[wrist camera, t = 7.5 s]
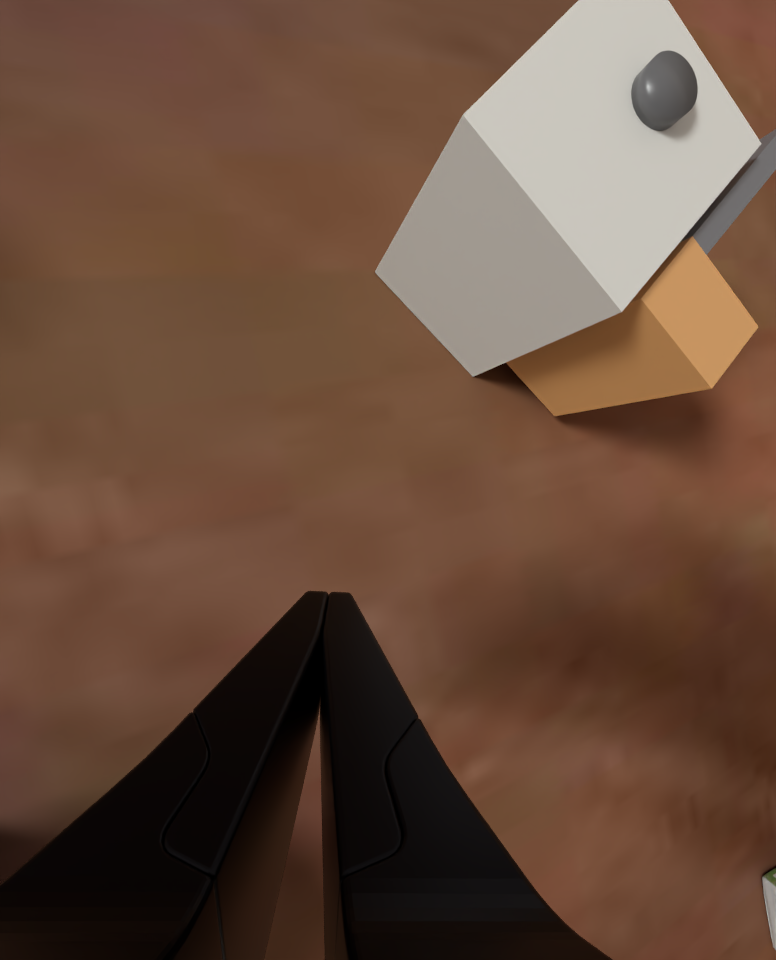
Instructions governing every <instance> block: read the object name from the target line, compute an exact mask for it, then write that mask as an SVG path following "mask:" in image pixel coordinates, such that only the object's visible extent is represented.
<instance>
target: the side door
mask: <svg viewBox="0 0 776 960" xmlns="http://www.w3.org/2000/svg"><path fill="white" fill-rule="evenodd" d="M759 141H760V142H761V145H760V146H759V147H758V149H757V150H756V151H755V152H754V153H753V155H752V156H751V157H750V158H749V159H748V161H747V162H746V163H745V164H744V165H743V167H742V168H741V169H740V170H739V171H738V173H737V174H736V175H735V176H734V177H733V179H732V180H731V181H730V182H729V184H728V185H727V186H726V187H725V188H724V190H723V191H722V192H721V193H720V194H719V196H718V197H717V198H716V199H715V200H714V202H713V203H712V204H711V205H710V206H709V208H708V209H707V210H706V211H705V212H704V214H703V215H702V216H701V217H700V218H699V220H698V221H697V222H696V223H695V224H694V226H693V227H692V228H691V229H690V231H689V232H688V233H687V234H686V235H685V237H684V238H683V239H682V240H681V241H680V243H679V244H678V245H677V246H676V247H675V249H674V250H673V251H672V252H671V253H670V255H669V256H668V257H667V258H666V259H665V261H664V262H663V263H662V264H661V265H660V267H659V268H658V269H657V270H656V271H655V273H654V274H653V275H652V276H651V278H650V279H649V280H648V281H647V282H646V284H645V285H644V286H643V287H642V288H641V290H640V291H639V292H638V293H637V294H636V296H635V297H634V298H633V299H632V300H631V302H630V303H629V304H628V305H627V306H626V308H625V309H624V310H623V311H622V312H621V313H618V314H616V315H614V316H612V317H609V318H607V319H605V320H602V321H600V322H598V323H595V324H593V325H591V326H589V327H586V328H584V329H582V330H579V331H577V332H575V333H573V334H570V335H568V336H566V337H563V338H561V339H559V340H556V341H554V342H552V343H550V344H547V345H545V346H543V347H540V348H538V349H536V350H533V351H531V352H529V353H527V354H524V355H522V356H520V357H517V358H515V359H513V360H510V361H508V362H506V364H507V365H508V366H509V367H510V368H511V369H512V370H513V371H514V372H515V373H516V375H517V376H518V377H519V378H520V379H521V380H522V381H523V382H524V383H525V384H526V386H527V387H528V388H529V389H530V390H531V391H532V392H533V393H534V394H535V395H536V397H537V398H538V399H539V400H540V401H541V402H542V403H543V404H544V405H545V406H546V408H547V409H548V410H549V411H550V412H551V413H552V414H553V415H554V416H559V415H565V414H571V413H577V412H582V411H588V410H594V409H599V408H605V407H611V406H616V405H622V404H628V403H633V402H639V401H645V400H651V399H656V398H662V397H668V396H673V395H679V394H685V393H690V392H696V391H702V390H707V389H712V388H713V386H714V385H715V384H716V382H717V381H718V380H719V379H720V377H721V376H722V375H723V373H724V372H725V371H726V369H727V368H728V367H729V365H730V364H731V363H732V361H733V360H734V359H735V357H736V356H737V355H738V353H739V352H740V351H741V349H742V348H743V347H744V345H745V344H746V343H747V341H748V340H749V339H750V337H751V336H752V335H753V333H754V332H755V331H756V330H757V328H758V325H757V324H756V323H755V321H754V320H753V318H752V317H751V316H750V314H749V313H748V312H747V310H746V309H745V307H744V306H743V305H742V303H741V302H740V300H739V299H738V298H737V296H736V295H735V294H734V292H733V291H732V289H731V288H730V287H729V285H728V284H727V283H726V281H725V280H724V278H723V277H722V276H721V274H720V273H719V272H718V270H717V269H716V267H715V266H714V265H713V263H712V262H711V261H710V259H709V258H708V256H707V254H708V252H709V251H710V250H711V249H712V247H713V246H714V245H715V244H716V242H717V241H718V240H719V239H720V237H721V236H722V235H723V234H724V233H725V231H726V230H727V229H728V228H729V226H730V225H731V224H732V223H733V221H734V220H735V219H736V218H737V216H738V215H739V214H740V213H741V212H742V210H743V209H744V208H745V207H746V205H747V204H748V203H749V202H750V200H751V199H752V198H753V197H754V196H755V194H756V193H757V192H758V191H759V189H760V188H761V187H762V186H763V184H764V183H765V182H766V181H767V179H768V178H769V177H770V176H771V175H772V173H773V172H774V171H775V170H776V129H775V130H774V131H772V132H771V133H769V134H768V135H766V136H765V137H763V138H762V139H760V140H759Z"/></svg>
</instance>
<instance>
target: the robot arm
mask: <svg viewBox="0 0 776 960" xmlns="http://www.w3.org/2000/svg"><path fill="white" fill-rule="evenodd" d="M319 708H320V753H321V801H322V849H323V897H324V945H325V960H612V959H611V958H610V957H608V956H607V955H605V954H604V953H603V952H601V951H600V950H598V949H597V948H596V947H594V946H593V945H591V944H590V943H589V942H587V941H586V940H585V939H583V938H582V937H581V936H579V935H578V934H577V933H576V932H575V931H574V930H572V929H571V928H570V927H569V926H568V925H567V924H566V923H565V922H564V921H563V920H562V919H561V918H560V917H559V916H558V915H557V914H556V913H555V912H554V911H553V910H552V909H551V908H550V907H549V905H548V904H547V903H546V902H545V901H544V900H543V898H542V897H541V896H540V895H539V894H538V892H537V891H536V890H535V888H534V887H533V886H532V884H531V883H530V882H529V880H528V879H527V878H526V876H525V875H524V873H523V872H522V871H521V869H520V868H519V866H518V865H517V864H516V862H515V861H514V860H513V858H512V857H511V855H510V854H509V853H508V851H507V850H506V848H505V847H504V846H503V844H502V843H501V841H500V840H499V839H498V837H497V836H496V835H495V833H494V832H493V830H492V829H491V828H490V826H489V825H488V823H487V822H486V821H485V819H484V818H483V817H482V815H481V814H480V812H479V811H478V810H477V808H476V807H475V805H474V804H473V803H472V801H471V800H470V798H469V797H468V796H467V794H466V793H465V791H464V790H463V788H462V787H461V785H460V784H459V782H458V781H457V780H456V778H455V777H454V775H453V774H452V772H451V771H450V769H449V768H448V766H447V765H446V763H445V761H444V760H443V758H442V756H441V755H440V753H439V751H438V750H437V748H436V746H435V745H434V743H433V741H432V740H431V738H430V736H429V734H428V732H427V731H426V729H425V727H424V725H423V723H422V721H421V720H420V719H418V715H417V713H416V711H415V709H414V707H413V705H412V704H411V702H410V700H409V698H408V696H407V695H406V693H405V691H404V689H403V687H402V685H401V684H400V682H399V680H398V678H397V676H396V675H395V673H394V671H393V669H392V667H391V665H390V664H389V662H388V660H387V658H386V656H385V655H384V653H383V651H382V649H381V647H380V645H379V644H378V642H377V640H376V638H375V636H374V635H373V633H372V631H371V629H370V627H369V625H368V624H367V622H366V620H365V618H364V616H363V615H362V613H361V611H360V609H359V607H358V605H357V604H356V602H355V600H354V598H353V596H352V595H351V594H350V593H346V592H331V593H330V594H329V595H328V593H327V592H323V591H308V592H306V593H305V594H304V595H303V596H302V597H301V598H300V599H299V600H298V601H297V602H296V603H295V604H294V605H293V606H292V607H291V608H290V609H289V611H288V612H287V613H286V614H285V615H284V616H283V617H282V618H281V619H280V620H279V621H278V622H277V623H276V624H275V625H274V626H273V627H272V628H271V629H270V630H269V631H268V632H267V633H266V634H265V635H264V637H263V638H262V639H261V640H260V641H259V642H258V643H257V644H256V645H255V646H254V647H253V648H252V649H251V650H250V651H249V652H248V653H247V654H246V655H245V656H244V657H243V658H242V659H241V660H240V662H239V663H238V664H237V665H236V666H235V667H234V668H233V669H232V670H231V671H230V672H229V673H228V674H227V675H226V676H225V677H224V678H223V679H222V680H221V681H220V682H219V683H218V684H217V685H216V687H215V688H214V689H213V690H212V691H211V692H210V693H209V694H208V695H207V696H206V697H205V698H204V699H203V700H202V701H201V702H200V703H199V704H198V705H197V706H196V707H195V708H194V710H193V713H192V712H191V713H189V714H188V715H187V716H186V717H185V718H184V720H183V721H182V722H181V723H180V724H179V725H178V726H177V727H176V728H175V729H174V730H173V731H172V732H171V733H170V734H169V735H168V736H167V737H166V738H165V739H164V740H163V741H162V742H161V743H160V744H159V745H158V746H157V747H156V748H155V749H154V750H153V751H152V752H151V753H150V754H149V755H148V756H147V757H146V758H145V759H143V760H142V761H141V762H140V763H139V764H138V765H137V766H136V767H135V768H134V769H132V770H131V771H130V772H129V773H128V774H127V775H126V776H125V777H124V778H122V779H121V780H120V781H119V782H118V783H117V784H116V785H115V786H114V787H113V788H111V789H110V790H109V791H108V792H107V793H106V794H105V795H103V796H102V797H101V798H100V799H99V800H98V801H97V802H95V803H94V804H93V805H92V806H91V807H90V808H88V809H87V810H86V811H85V812H84V813H83V814H82V815H80V816H79V817H78V818H77V819H76V820H75V821H73V822H72V823H71V824H70V825H69V826H68V827H67V828H65V829H64V830H63V831H62V832H61V833H60V834H58V835H57V836H56V837H55V838H54V839H53V840H52V841H50V842H49V843H48V844H47V845H46V846H45V847H43V848H42V849H41V850H40V851H39V852H38V853H37V854H35V855H34V856H33V857H32V858H31V859H30V860H28V861H27V862H26V863H25V864H24V865H23V866H22V867H20V868H19V869H18V870H17V871H16V872H15V873H14V874H12V875H11V876H10V877H9V878H8V879H6V880H5V881H4V882H3V883H1V884H0V960H264V956H265V952H266V947H267V943H268V938H269V934H270V930H271V925H272V921H273V916H274V912H275V907H276V903H277V899H278V894H279V890H280V885H281V881H282V876H283V872H284V867H285V863H286V859H287V854H288V850H289V845H290V841H291V836H292V832H293V827H294V823H295V819H296V814H297V810H298V805H299V801H300V796H301V792H302V788H303V783H304V779H305V774H306V770H307V765H308V761H309V756H310V752H311V748H312V743H313V739H314V734H315V730H316V725H317V720H318V715H319Z"/></svg>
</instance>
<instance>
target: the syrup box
mask: <svg viewBox="0 0 776 960" xmlns="http://www.w3.org/2000/svg"><path fill="white" fill-rule="evenodd" d="M762 881H763V890H764V898H765V904H766V911H767V916H768V922H769V927H770V933H771V938H772V943H773V947H774V948H775V950H776V868H775V869H773V870H772V871H770V872H768V873H767V874H765V875H764V876H763V878H762Z"/></svg>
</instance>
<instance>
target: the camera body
mask: <svg viewBox="0 0 776 960" xmlns="http://www.w3.org/2000/svg"><path fill="white" fill-rule="evenodd" d="M760 145H761V142H760V141H759V139H758V138H757V136H756V135H755V133H754V131H753V130H752V128H751V127H750V125H749V124H748V122H747V121H746V119H745V118H744V116H743V114H742V113H741V111H740V110H739V108H738V107H737V105H736V104H735V102H734V101H733V99H732V98H731V96H730V94H729V93H728V91H727V90H726V88H725V87H724V85H723V84H722V82H721V81H720V79H719V78H718V76H717V74H716V73H715V71H714V70H713V68H712V67H711V65H710V64H709V62H708V61H707V59H706V58H705V56H704V54H703V53H702V51H701V50H700V48H699V47H698V45H697V44H696V42H695V41H694V39H693V37H692V36H691V34H690V33H689V31H688V30H687V28H686V27H685V25H684V24H683V22H682V21H681V19H680V17H679V16H678V14H677V13H676V11H675V10H674V8H673V7H672V5H671V4H670V2H669V1H668V0H579V1H578V2H576V3H575V4H574V5H573V6H572V7H571V8H570V9H569V10H568V11H567V12H566V13H565V14H564V15H563V16H562V17H561V18H560V19H559V20H558V21H557V22H556V23H555V24H554V25H553V26H552V27H551V28H550V29H549V30H548V31H547V32H546V33H545V34H544V35H543V36H542V37H541V38H540V39H539V40H538V41H537V42H536V43H535V44H534V45H533V46H532V47H531V48H530V49H529V50H528V51H527V52H526V53H525V54H524V55H523V56H522V57H521V58H520V59H519V60H518V61H517V62H516V63H515V64H514V65H513V66H512V67H511V68H510V69H509V70H508V71H507V72H506V73H505V74H504V75H503V76H502V77H501V78H500V79H499V80H498V81H497V82H496V83H495V84H494V85H493V86H492V87H491V88H490V89H489V90H488V91H487V92H486V93H485V94H484V95H483V96H482V97H481V98H480V99H479V100H478V101H477V102H476V103H475V104H473V105H472V106H471V107H470V108H469V109H468V110H467V111H466V112H465V113H464V114H463V116H462V117H461V119H460V121H459V123H458V125H457V126H456V128H455V130H454V132H453V134H452V135H451V137H450V139H449V141H448V142H447V144H446V146H445V148H444V150H443V151H442V153H441V155H440V157H439V159H438V160H437V162H436V164H435V166H434V167H433V169H432V171H431V173H430V175H429V176H428V178H427V180H426V182H425V183H424V185H423V187H422V189H421V191H420V192H419V194H418V196H417V198H416V200H415V201H414V203H413V205H412V207H411V208H410V210H409V212H408V214H407V216H406V217H405V219H404V221H403V223H402V224H401V226H400V228H399V230H398V232H397V233H396V235H395V237H394V239H393V241H392V242H391V244H390V246H389V248H388V249H387V251H386V253H385V255H384V257H383V258H382V260H381V262H380V264H379V266H378V267H377V269H376V271H375V273H376V274H377V275H378V276H379V277H380V278H381V279H382V280H383V282H384V283H385V284H386V285H387V286H388V287H389V288H390V289H391V290H392V291H393V292H394V293H395V294H396V295H397V296H398V297H399V299H400V300H401V301H402V302H403V303H404V304H405V305H406V306H407V307H408V308H409V309H410V310H411V311H412V312H413V313H414V315H415V316H416V317H417V318H418V319H419V320H420V321H421V322H422V323H423V324H424V325H425V326H426V327H427V328H428V329H429V330H430V332H431V333H432V334H433V335H434V336H435V337H436V338H437V339H438V340H439V341H440V342H441V343H442V344H443V345H444V346H445V348H446V349H447V350H448V351H449V352H450V353H451V354H452V355H453V356H454V357H455V358H456V359H457V360H458V361H459V362H460V363H461V365H462V366H463V367H464V368H465V369H466V370H467V371H468V372H469V373H470V374H471V375H472V376H473V377H474V376H476V375H478V374H481V373H483V372H485V371H488V370H490V369H492V368H494V367H497V366H499V365H501V364H504V363H506V362H508V361H510V360H513V359H515V358H517V357H520V356H522V355H524V354H527V353H529V352H531V351H533V350H536V349H538V348H540V347H543V346H545V345H547V344H550V343H552V342H554V341H556V340H559V339H561V338H563V337H566V336H568V335H570V334H573V333H575V332H577V331H579V330H582V329H584V328H586V327H589V326H591V325H593V324H595V323H598V322H600V321H602V320H605V319H607V318H609V317H612V316H614V315H616V314H618V313H621V312H622V311H623V310H624V309H625V308H626V306H627V305H628V304H629V303H630V302H631V300H632V299H633V298H634V297H635V296H636V294H637V293H638V292H639V291H640V290H641V288H642V287H643V286H644V285H645V284H646V282H647V281H648V280H649V279H650V278H651V276H652V275H653V274H654V273H655V271H656V270H657V269H658V268H659V267H660V265H661V264H662V263H663V262H664V261H665V259H666V258H667V257H668V256H669V255H670V253H671V252H672V251H673V250H674V249H675V247H676V246H677V245H678V244H679V243H680V241H681V240H682V239H683V238H684V237H685V235H686V234H687V233H688V232H689V231H690V229H691V228H692V227H693V226H694V224H695V223H696V222H697V221H698V220H699V218H700V217H701V216H702V215H703V214H704V212H705V211H706V210H707V209H708V208H709V206H710V205H711V204H712V203H713V202H714V200H715V199H716V198H717V197H718V196H719V194H720V193H721V192H722V191H723V190H724V188H725V187H726V186H727V185H728V184H729V182H730V181H731V180H732V179H733V177H734V176H735V175H736V174H737V173H738V171H739V170H740V169H741V168H742V167H743V165H744V164H745V163H746V162H747V161H748V159H749V158H750V157H751V156H752V155H753V153H754V152H755V151H756V150H757V149H758V147H759V146H760Z"/></svg>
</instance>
